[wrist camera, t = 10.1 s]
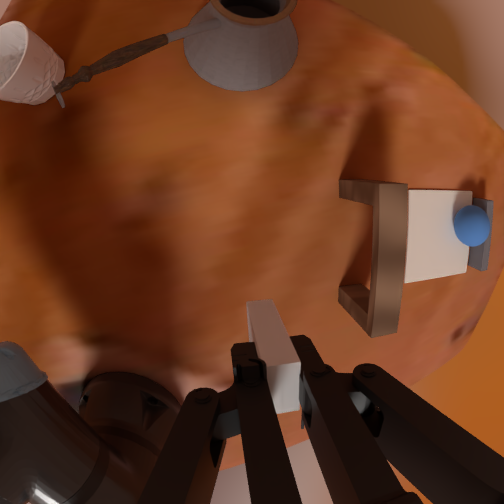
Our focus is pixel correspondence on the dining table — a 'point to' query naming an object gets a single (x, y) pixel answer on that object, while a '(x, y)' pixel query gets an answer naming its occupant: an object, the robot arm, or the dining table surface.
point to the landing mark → (434, 234)
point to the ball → (472, 225)
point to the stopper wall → (481, 252)
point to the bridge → (379, 256)
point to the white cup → (27, 65)
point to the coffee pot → (220, 46)
